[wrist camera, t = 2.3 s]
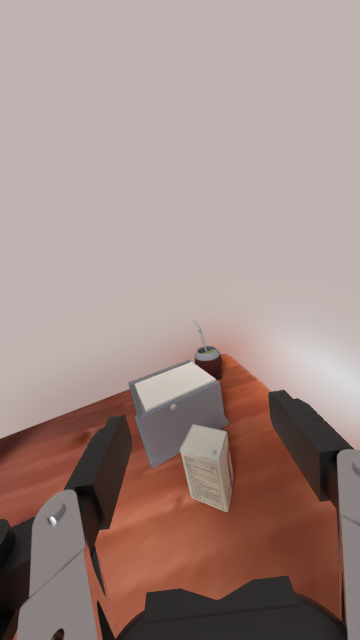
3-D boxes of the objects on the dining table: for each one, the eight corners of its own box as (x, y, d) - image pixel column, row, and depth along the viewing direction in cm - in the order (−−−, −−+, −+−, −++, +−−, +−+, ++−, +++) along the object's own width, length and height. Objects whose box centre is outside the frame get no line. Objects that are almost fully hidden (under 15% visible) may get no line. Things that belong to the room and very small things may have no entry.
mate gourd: (218, 386, 46) (210, 329, 42) (190, 381, 50) (181, 329, 47) (227, 371, 52) (221, 319, 49) (201, 367, 56) (194, 320, 53)
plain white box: (154, 441, 30) (146, 409, 28) (141, 409, 38) (134, 383, 36) (219, 407, 35) (215, 378, 33) (195, 385, 43) (191, 361, 41)
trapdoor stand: (151, 469, 29) (138, 420, 26) (135, 420, 39) (125, 383, 37) (228, 424, 34) (222, 381, 32) (196, 392, 45) (190, 358, 43)
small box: (234, 478, 25) (228, 430, 24) (228, 515, 22) (219, 462, 20) (200, 466, 28) (192, 422, 26) (189, 497, 24) (178, 449, 22)
